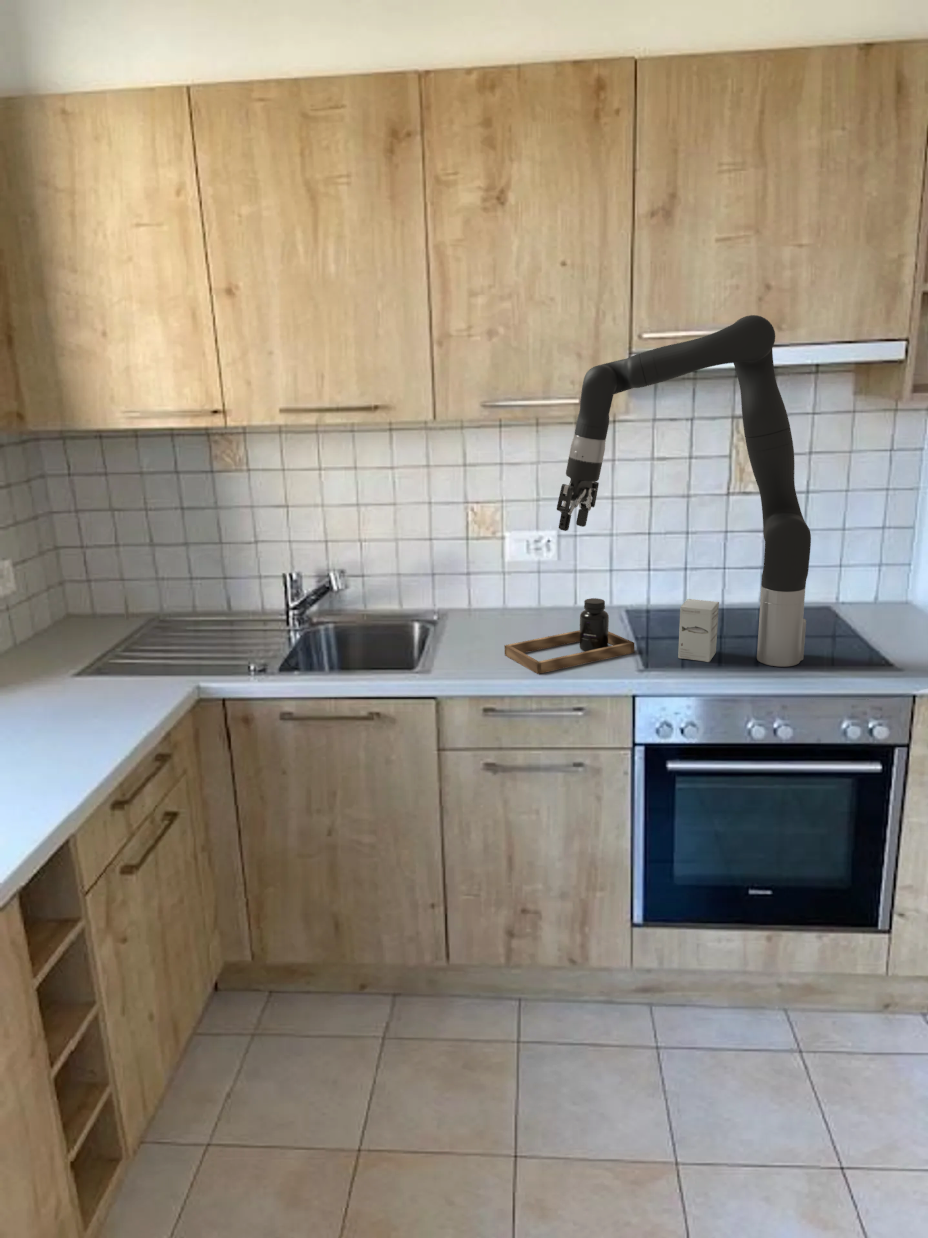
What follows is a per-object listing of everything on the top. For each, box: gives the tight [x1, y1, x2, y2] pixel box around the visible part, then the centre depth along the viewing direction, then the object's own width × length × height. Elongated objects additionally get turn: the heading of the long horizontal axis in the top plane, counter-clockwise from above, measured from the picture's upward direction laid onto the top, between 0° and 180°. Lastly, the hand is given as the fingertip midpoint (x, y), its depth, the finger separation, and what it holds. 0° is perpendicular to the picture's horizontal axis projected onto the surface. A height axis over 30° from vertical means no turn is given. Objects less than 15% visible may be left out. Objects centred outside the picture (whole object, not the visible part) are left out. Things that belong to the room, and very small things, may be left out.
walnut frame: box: [504, 629, 635, 675], centre depth 212 cm, size 26×15×2 cm, turn 117°
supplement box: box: [677, 598, 720, 663], centre depth 206 cm, size 7×7×13 cm
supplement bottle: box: [578, 597, 610, 652], centre depth 214 cm, size 7×7×12 cm
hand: (572, 527), depth 205 cm, fingers open, 8 cm apart
